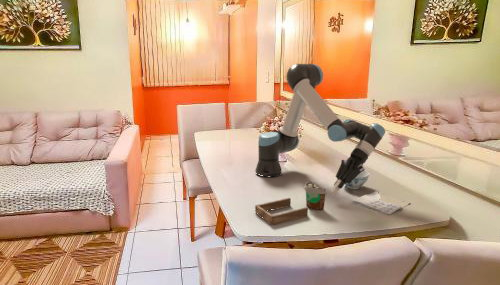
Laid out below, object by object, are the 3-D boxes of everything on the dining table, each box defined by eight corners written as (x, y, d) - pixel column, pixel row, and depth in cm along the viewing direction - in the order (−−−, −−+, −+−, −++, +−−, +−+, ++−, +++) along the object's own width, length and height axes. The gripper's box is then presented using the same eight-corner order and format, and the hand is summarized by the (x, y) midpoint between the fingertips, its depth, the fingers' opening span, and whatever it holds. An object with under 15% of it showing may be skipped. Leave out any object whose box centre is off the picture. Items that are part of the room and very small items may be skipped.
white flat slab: (350, 202, 158) (351, 198, 157) (376, 193, 170) (376, 189, 169) (388, 217, 143) (389, 212, 143) (413, 205, 155) (414, 200, 155)
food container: (298, 203, 156) (299, 182, 154) (309, 201, 158) (310, 180, 156) (313, 213, 145) (314, 191, 143) (325, 211, 147) (326, 189, 145)
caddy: (255, 213, 145) (255, 205, 145) (289, 205, 154) (289, 197, 153) (271, 225, 134) (272, 217, 134) (307, 215, 143) (307, 208, 142)
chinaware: (350, 193, 167) (351, 178, 166) (331, 184, 181) (332, 170, 179) (374, 189, 173) (375, 174, 171) (354, 180, 187) (355, 166, 185)
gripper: (376, 160, 157) (347, 201, 152) (354, 154, 168) (327, 192, 163) (369, 150, 153) (339, 192, 148) (347, 144, 164) (319, 184, 160)
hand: (333, 192), depth 156 cm, fingers closed
